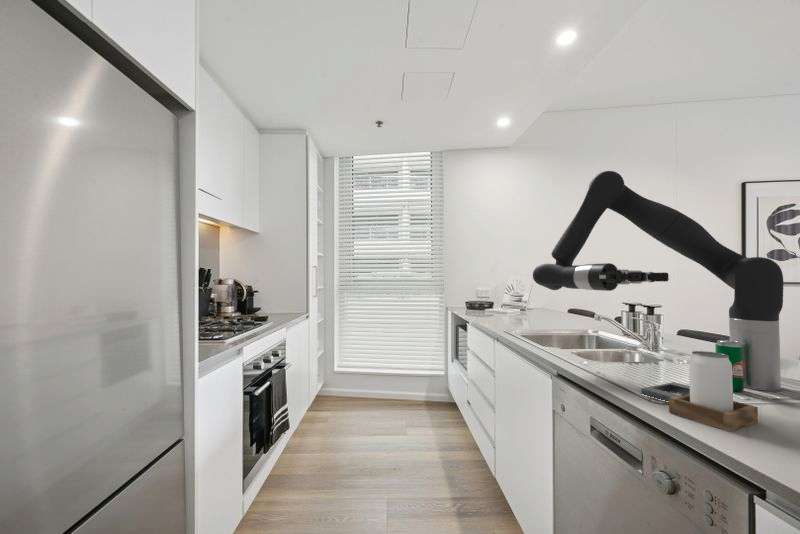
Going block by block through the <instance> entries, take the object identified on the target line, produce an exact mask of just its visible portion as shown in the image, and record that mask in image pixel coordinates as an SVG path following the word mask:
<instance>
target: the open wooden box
mask: <svg viewBox="0 0 800 534" xmlns="http://www.w3.org/2000/svg"><path fill="white" fill-rule="evenodd" d="M678 395H679V396H675V397H670V398H669V403H668V411H669V412H668V413H670V414H673V415H675V416H679V417H683V418H684V419H688V420H692V421H695V422H698V423H701V424H705V425H707V426H712V427H714V428H717V429H720V430H724V431H726V432H735V431H739V430H741V429H744V428H747V427H750V426H753V425H756V424H758V423H759V409H758V406H756V405H751V404H747V403H742V402H739V401H736V400H733V410H732V411H729V412H724V411H720V410H717V409H713V408H709V407H706V406H702V405H698V404H695V403H691V402H690V393H688V394H678Z"/></svg>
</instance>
